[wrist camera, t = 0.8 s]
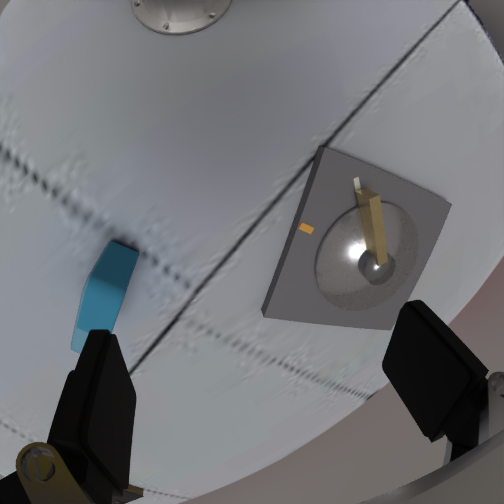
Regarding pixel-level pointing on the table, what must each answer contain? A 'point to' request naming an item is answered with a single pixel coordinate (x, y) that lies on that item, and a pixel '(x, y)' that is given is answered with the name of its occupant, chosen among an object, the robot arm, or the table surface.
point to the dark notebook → (128, 495)
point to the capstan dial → (366, 254)
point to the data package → (103, 292)
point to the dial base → (318, 223)
